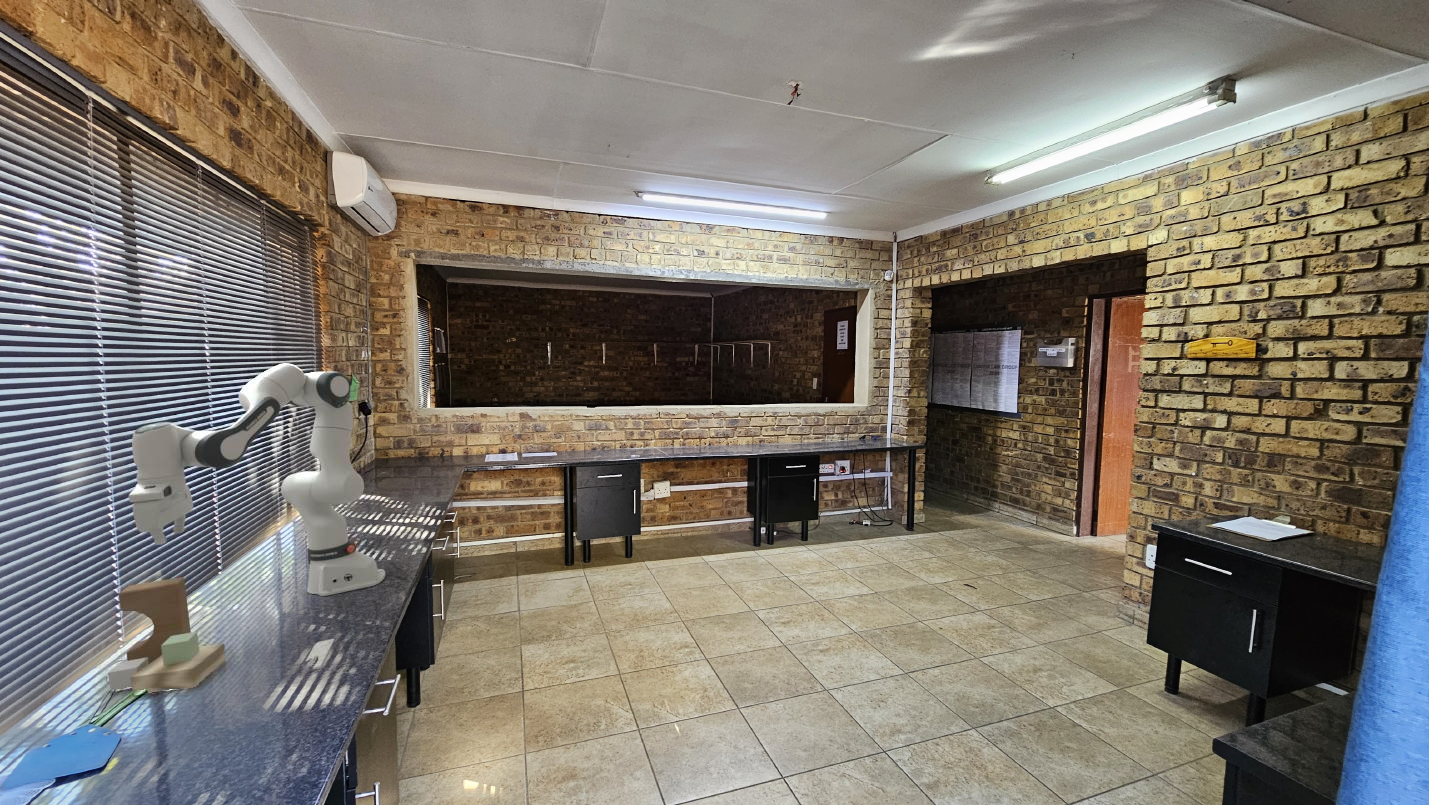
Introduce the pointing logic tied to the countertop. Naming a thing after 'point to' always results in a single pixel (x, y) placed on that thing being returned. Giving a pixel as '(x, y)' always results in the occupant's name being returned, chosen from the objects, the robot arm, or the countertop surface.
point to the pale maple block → (179, 671)
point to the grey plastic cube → (125, 673)
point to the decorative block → (157, 613)
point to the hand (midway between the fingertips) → (170, 538)
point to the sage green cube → (180, 648)
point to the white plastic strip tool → (320, 652)
